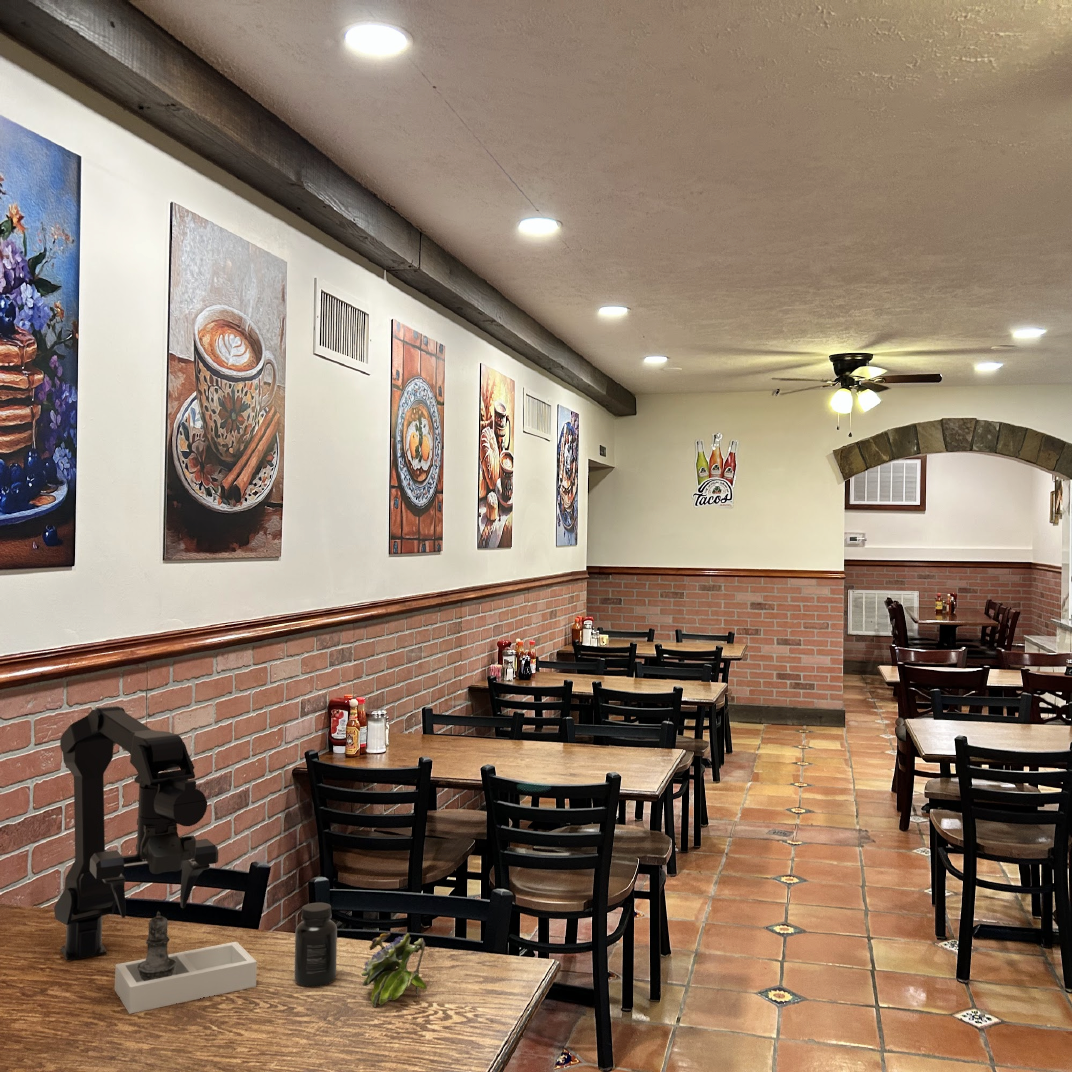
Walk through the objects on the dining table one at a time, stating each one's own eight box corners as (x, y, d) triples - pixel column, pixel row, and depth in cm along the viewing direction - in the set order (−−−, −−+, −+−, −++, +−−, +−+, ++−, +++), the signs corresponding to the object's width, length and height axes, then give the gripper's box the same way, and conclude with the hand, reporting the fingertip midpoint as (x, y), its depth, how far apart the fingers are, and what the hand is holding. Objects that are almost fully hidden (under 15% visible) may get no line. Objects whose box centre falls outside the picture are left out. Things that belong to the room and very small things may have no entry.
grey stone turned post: (128, 990, 161) (130, 913, 161) (157, 977, 166) (159, 902, 166) (155, 997, 158) (157, 919, 159) (183, 984, 163) (186, 908, 164)
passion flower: (377, 1021, 166) (388, 945, 173) (437, 1019, 163) (446, 942, 170) (343, 1003, 158) (356, 924, 165) (406, 1001, 154) (416, 920, 162)
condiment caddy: (114, 989, 163) (115, 964, 163) (235, 965, 174) (236, 941, 174) (129, 1013, 155) (130, 987, 155) (256, 986, 166) (256, 961, 166)
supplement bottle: (343, 975, 171) (345, 903, 171) (322, 990, 165) (324, 915, 165) (308, 969, 173) (310, 898, 174) (285, 984, 167) (287, 910, 167)
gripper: (105, 833, 152) (101, 939, 151) (230, 818, 162) (227, 917, 162) (91, 816, 161) (87, 916, 160) (209, 803, 171) (206, 897, 171)
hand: (153, 912), depth 163 cm, fingers open, 9 cm apart
